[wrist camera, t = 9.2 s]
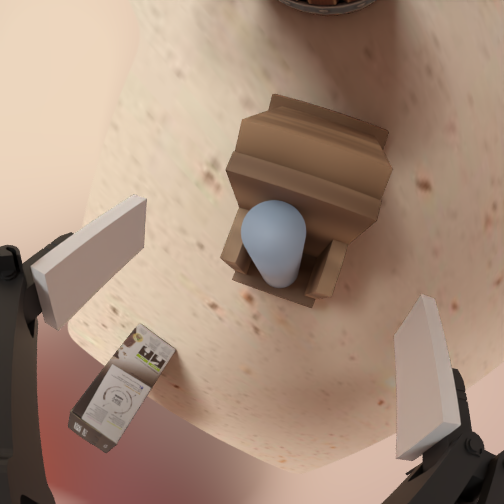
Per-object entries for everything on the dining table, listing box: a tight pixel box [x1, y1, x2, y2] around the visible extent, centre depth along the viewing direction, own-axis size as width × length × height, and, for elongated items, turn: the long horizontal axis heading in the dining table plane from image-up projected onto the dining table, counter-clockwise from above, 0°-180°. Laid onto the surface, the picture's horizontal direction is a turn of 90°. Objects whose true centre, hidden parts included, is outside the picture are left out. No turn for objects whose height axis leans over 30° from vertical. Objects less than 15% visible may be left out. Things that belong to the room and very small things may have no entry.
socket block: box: [220, 94, 393, 308], centre depth 22 cm, size 16×9×12 cm, turn 167°
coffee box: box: [68, 324, 175, 453], centre depth 37 cm, size 9×6×16 cm
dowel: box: [241, 200, 306, 288], centre depth 22 cm, size 3×3×12 cm
